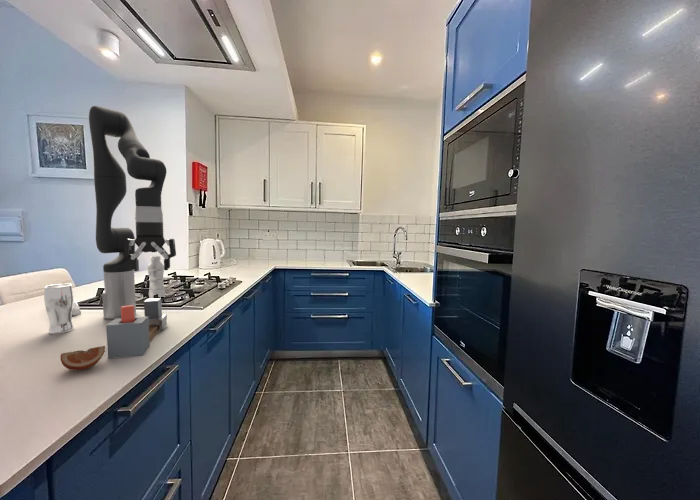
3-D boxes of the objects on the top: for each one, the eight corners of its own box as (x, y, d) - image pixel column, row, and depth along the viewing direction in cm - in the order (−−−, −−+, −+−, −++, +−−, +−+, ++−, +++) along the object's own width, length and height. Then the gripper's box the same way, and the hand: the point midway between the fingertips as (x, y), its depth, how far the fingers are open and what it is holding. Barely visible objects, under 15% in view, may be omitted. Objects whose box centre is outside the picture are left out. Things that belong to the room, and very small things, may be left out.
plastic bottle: (158, 301, 140) (156, 257, 139) (145, 300, 142) (143, 256, 140) (169, 298, 147) (167, 255, 145) (156, 297, 148) (154, 255, 146)
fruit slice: (105, 359, 83) (104, 341, 82) (107, 368, 78) (106, 349, 77) (61, 369, 77) (60, 349, 77) (61, 379, 72) (59, 358, 72)
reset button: (120, 333, 85) (118, 308, 84) (124, 330, 87) (123, 305, 87) (133, 332, 85) (131, 307, 85) (136, 329, 88) (135, 304, 88)
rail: (130, 347, 90) (129, 341, 90) (150, 326, 108) (150, 320, 108) (146, 346, 91) (145, 339, 91) (163, 325, 109) (163, 319, 109)
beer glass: (80, 328, 105) (77, 284, 104) (55, 335, 98) (52, 288, 97) (67, 326, 107) (64, 282, 106) (41, 333, 101) (37, 286, 99)
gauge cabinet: (107, 358, 83) (106, 325, 82) (117, 349, 89) (115, 318, 88) (142, 355, 85) (141, 322, 85) (149, 346, 91) (148, 316, 90)
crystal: (87, 304, 120) (80, 294, 137) (65, 298, 116) (60, 287, 132) (75, 323, 118) (70, 310, 135) (52, 317, 114) (49, 304, 130)
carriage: (140, 331, 102) (138, 302, 101) (145, 325, 107) (144, 298, 106) (162, 330, 103) (161, 301, 103) (167, 324, 109) (166, 297, 108)
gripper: (176, 221, 108) (178, 268, 109) (128, 220, 104) (130, 269, 105) (171, 221, 101) (173, 271, 102) (119, 220, 96) (121, 273, 98)
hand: (151, 270), depth 104 cm, fingers open, 8 cm apart
